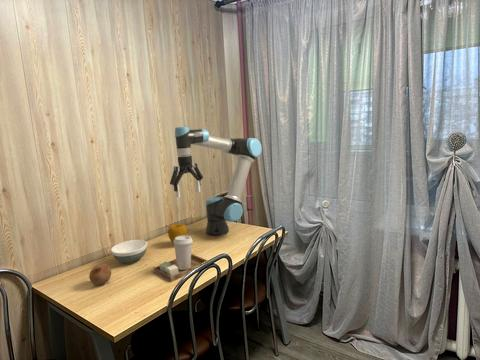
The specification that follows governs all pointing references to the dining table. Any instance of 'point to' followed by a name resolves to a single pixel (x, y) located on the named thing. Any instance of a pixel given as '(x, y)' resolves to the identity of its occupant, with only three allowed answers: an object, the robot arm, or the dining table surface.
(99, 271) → the onion
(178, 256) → the coffee cup
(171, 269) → the cream block
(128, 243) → the bowl
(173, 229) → the amber vase
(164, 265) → the sage block
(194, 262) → the tray
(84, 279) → the dining table surface
